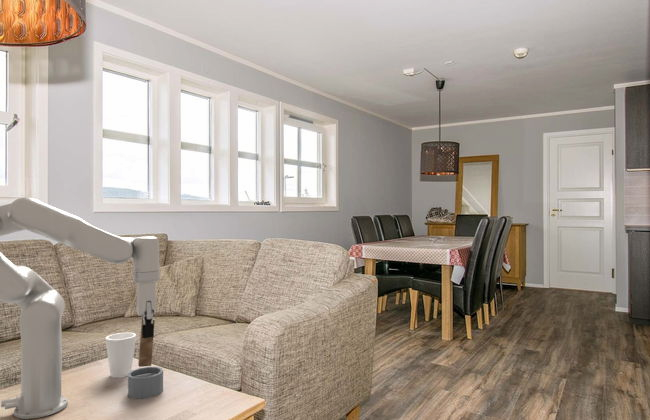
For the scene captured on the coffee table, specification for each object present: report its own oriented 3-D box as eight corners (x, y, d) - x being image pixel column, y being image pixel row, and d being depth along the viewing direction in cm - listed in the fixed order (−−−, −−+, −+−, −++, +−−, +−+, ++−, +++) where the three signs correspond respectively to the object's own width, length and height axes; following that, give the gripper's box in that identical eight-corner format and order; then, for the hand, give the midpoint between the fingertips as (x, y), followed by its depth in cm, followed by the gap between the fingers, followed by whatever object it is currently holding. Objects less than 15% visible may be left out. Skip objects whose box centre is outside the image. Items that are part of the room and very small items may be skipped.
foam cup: (141, 372, 149) (141, 335, 149) (116, 381, 141) (116, 341, 141) (125, 367, 154) (125, 331, 154) (99, 375, 146) (99, 337, 146)
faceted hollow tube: (129, 401, 126) (129, 380, 126) (127, 389, 135) (127, 369, 135) (164, 394, 131) (164, 374, 131) (160, 383, 139) (160, 364, 139)
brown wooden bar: (138, 366, 131) (142, 320, 131) (138, 364, 133) (141, 318, 133) (151, 365, 132) (154, 319, 133) (150, 363, 134) (153, 318, 135)
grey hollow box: (134, 395, 129) (134, 381, 129) (132, 389, 133) (133, 376, 133) (158, 390, 132) (158, 377, 132) (156, 384, 136) (156, 372, 137)
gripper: (131, 274, 138) (132, 332, 138) (135, 281, 124) (136, 345, 124) (156, 272, 142) (157, 328, 142) (162, 278, 128) (164, 341, 128)
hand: (147, 335), depth 133 cm, fingers closed on brown wooden bar, 2 cm apart
